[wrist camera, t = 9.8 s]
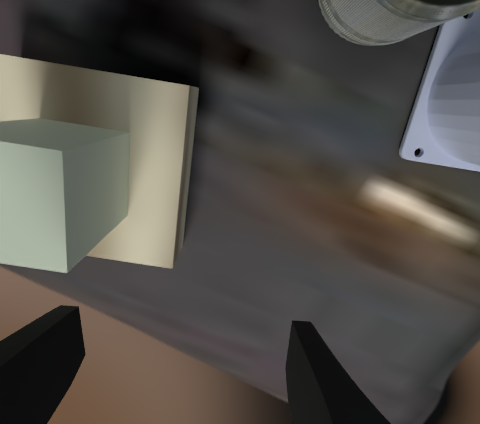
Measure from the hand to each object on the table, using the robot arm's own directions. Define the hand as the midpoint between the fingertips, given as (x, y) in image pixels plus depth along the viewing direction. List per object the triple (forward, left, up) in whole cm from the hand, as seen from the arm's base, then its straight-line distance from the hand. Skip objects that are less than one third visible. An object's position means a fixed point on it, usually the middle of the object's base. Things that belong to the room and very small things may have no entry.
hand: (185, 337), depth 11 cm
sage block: (+7, -3, -7) cm, 11 cm away
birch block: (+7, -3, -10) cm, 13 cm away
